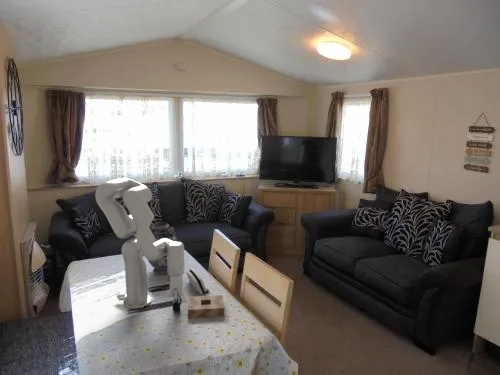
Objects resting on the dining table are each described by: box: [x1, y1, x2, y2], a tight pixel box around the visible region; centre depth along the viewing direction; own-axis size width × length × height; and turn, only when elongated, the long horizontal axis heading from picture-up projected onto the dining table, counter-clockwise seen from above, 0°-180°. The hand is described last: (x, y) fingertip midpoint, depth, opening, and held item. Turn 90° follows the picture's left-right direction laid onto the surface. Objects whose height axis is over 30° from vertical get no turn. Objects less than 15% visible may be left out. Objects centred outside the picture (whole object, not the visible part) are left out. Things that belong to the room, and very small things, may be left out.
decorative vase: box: [147, 221, 179, 276], centre depth 214 cm, size 21×19×28 cm
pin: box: [173, 294, 181, 315], centre depth 172 cm, size 3×3×10 cm
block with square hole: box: [187, 294, 225, 319], centre depth 175 cm, size 16×12×4 cm
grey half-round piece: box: [185, 268, 210, 295], centre depth 197 cm, size 17×5×10 cm, turn 28°
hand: (177, 305), depth 173 cm, fingers open, 8 cm apart
